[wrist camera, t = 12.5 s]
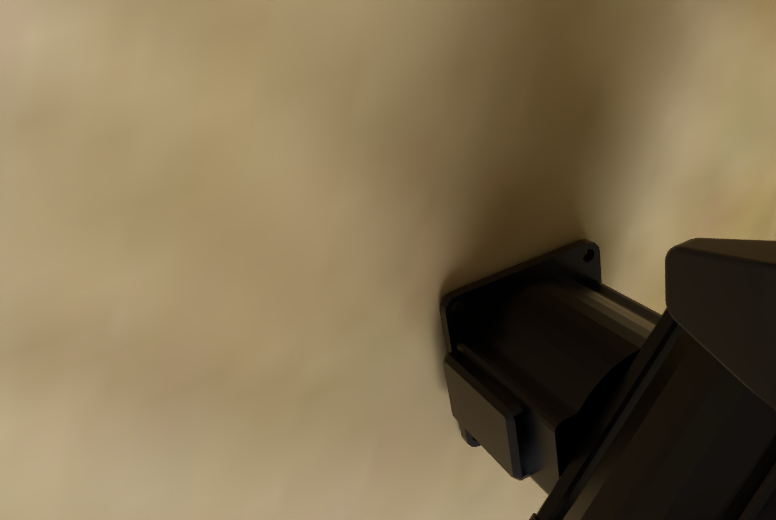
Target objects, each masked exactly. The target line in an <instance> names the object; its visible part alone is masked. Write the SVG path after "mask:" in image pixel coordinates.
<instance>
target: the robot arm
mask: <svg viewBox="0 0 776 520" xmlns="http://www.w3.org/2000/svg"><path fill="white" fill-rule="evenodd" d="M586 250H587V253H586V255H585V256H584V257H583V254H584V253H585V251H586ZM665 294H666V306H667V308H666V309H665V311H664V312H663V314H662V315H661V314H659V313H657V312H655V311H653V310H651V309H649V308H647V307H646V306H644V305H642V304H640V303H638V302H636V301H634V300H632V299H631V298H629V297H627V296H625V295H623V294H621V293H619V292H617V291H615V290H614V289H612V288H610V287H608V286H606V285H604V284H602V283H601V266H600V250H599V247H598V246H597V244H595V243H593V242H591V241H589V240H586V239H583V240H579V241H577V242H574V243H572V244H569V245H567V246H564V247H562V248H559V249H557V250H554V251H552V252H549V253H547V254H544V255H542V256H539V257H537V258H534V259H532V260H529V261H527V262H524V263H522V264H519V265H517V266H514V267H511V268H509V269H506V270H504V271H501V272H499V273H496V274H494V275H491V276H489V277H486V278H484V279H481V280H479V281H476V282H474V283H471V284H469V285H466V286H464V287H461V288H459V289H456V290H454V291H451V292H449V293H448V294H446V295H445V296H444V297H443V299H442V301H441V303H440V313H441V319H442V325H443V331H444V337H445V343H446V348H447V353H446V355H445V358H444V361H443V363H444V369H445V375H446V380H447V386H448V392H449V397H450V403H451V409H452V414H453V416H454V417H455V418H456V419H457V421H458V422H459V424H460V430H461V435H462V438H463V439H464V440H465V441H466V442H467V443H468V444H469V445H470V446H472V447H477V446H480V445H482V447H483V448H484V449H485V450H486V451H487V452H488V453H489V454H490V455H491V456H492V457H493V458H494V459H495V460H496V461H497V462H498V463H499V464H500V465H501V466H502V467H503V468H504V469H505V470H506V471H507V473H508V474H509V475H510V476H511V477H513V478H515V479H517V480H520V481H521V480H523V479H525V478H527V477H529V476H530V477H531V478H532V479H533V480H534V481H535V482H536V483H537V484H538V485H539V486H540V487H541V488H542V489H543V490H544V491H545V492H546V493H547V494H548V497H547V498H546V500H545V501H544V503H543V505H542V506H541V508H540V509H539V511H538V512H537V514H536V513H533V514H532V516H531V517H530V519H529V520H776V241H765V240H740V239H715V238H694V239H690V240H688V241H686V242H683V243H681V244H679V245H676V246H674V247H672V248H671V249H670V250H669V251H668V252H667V255H666V258H665ZM457 302H459V306H458V307H457V309H456V310H454V311H452V307H453V306H454V304H456V303H457Z"/></svg>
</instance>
